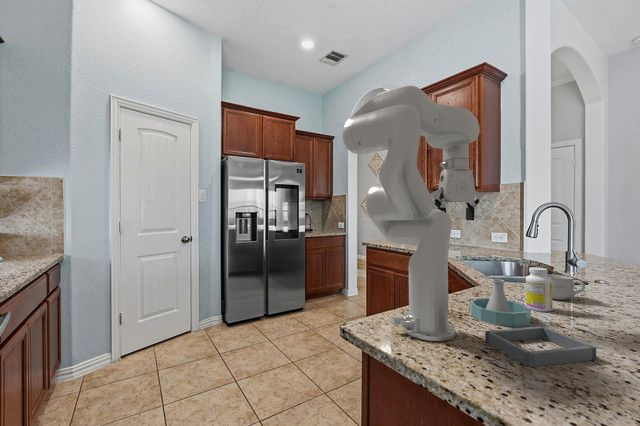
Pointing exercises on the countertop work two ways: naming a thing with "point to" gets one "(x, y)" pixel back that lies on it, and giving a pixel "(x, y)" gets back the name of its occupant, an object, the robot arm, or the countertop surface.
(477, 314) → the bowl
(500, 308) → the flask
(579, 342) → the parts tray
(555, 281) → the teacup
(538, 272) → the supplement bottle
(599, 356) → the countertop surface
